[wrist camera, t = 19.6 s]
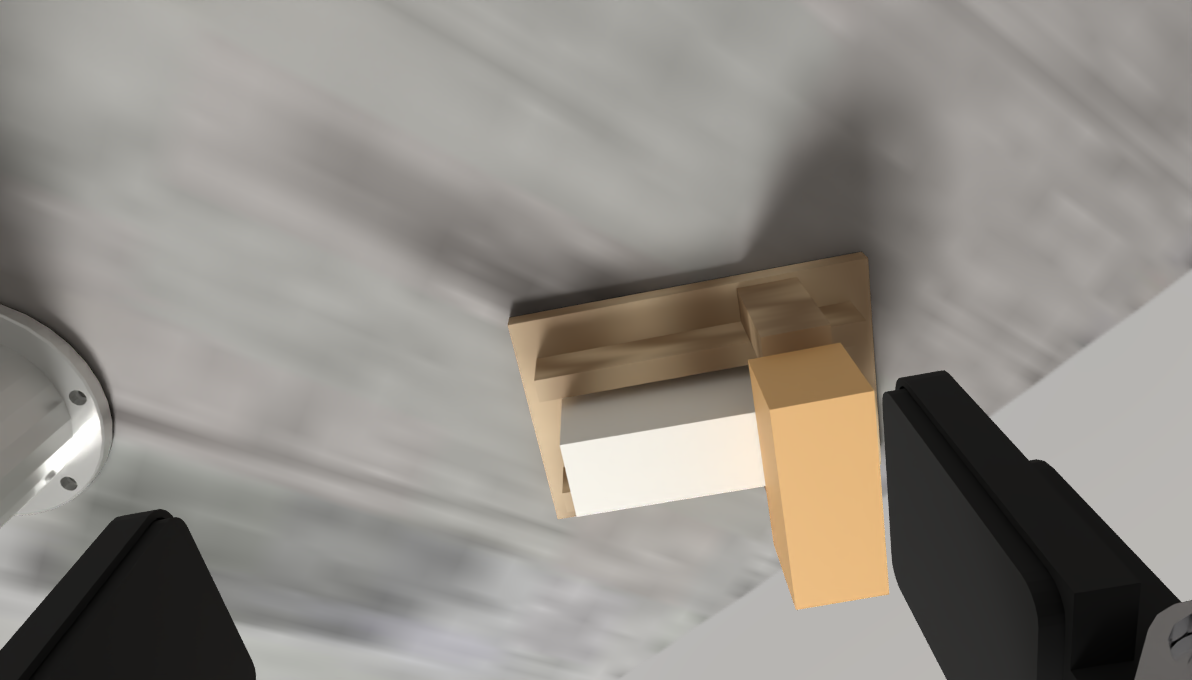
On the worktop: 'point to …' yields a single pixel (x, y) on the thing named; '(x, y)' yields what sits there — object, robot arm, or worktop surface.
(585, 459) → the white rectangular block
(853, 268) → the cradle
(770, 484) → the light orange rectangular block
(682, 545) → the worktop surface
